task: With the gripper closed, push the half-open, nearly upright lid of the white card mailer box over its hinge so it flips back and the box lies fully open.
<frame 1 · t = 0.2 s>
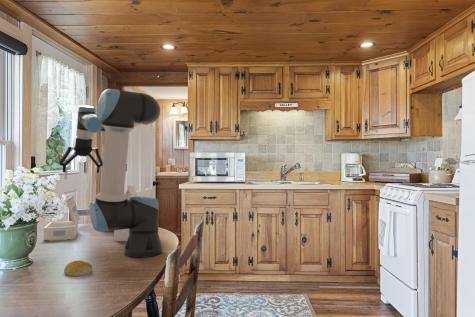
hand: (80, 178, 179), 28 cm above the table, tool tilted 15°, fingers open, 13 cm apart
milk: (130, 238, 174), on the table
lid: (73, 210, 177), point 13 cm above the table, hinge at 75.0°
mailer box: (61, 236, 176), on the table
decorative box: (110, 228, 198), on the table
bread roll: (78, 273, 120), on the table
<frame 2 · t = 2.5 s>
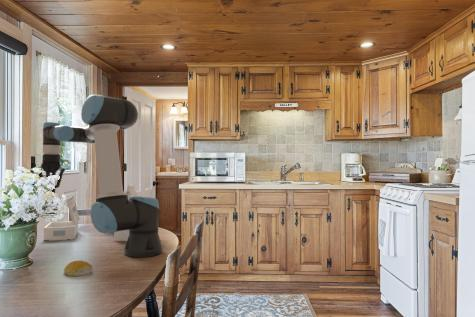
hand: (50, 202, 174), 17 cm above the table, tool pointing down, fingers closed
nothing on the table moved.
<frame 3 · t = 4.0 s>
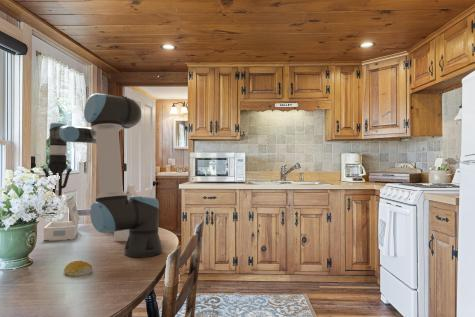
hand: (57, 202, 175), 17 cm above the table, tool pointing down, fingers closed
nothing on the table moved.
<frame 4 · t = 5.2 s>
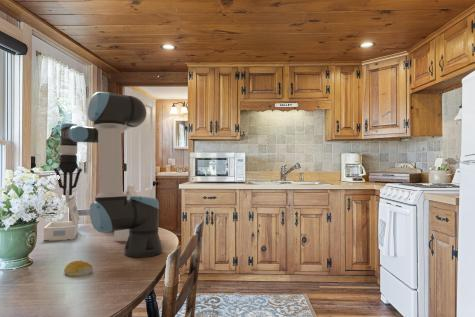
hand: (67, 202, 176), 17 cm above the table, tool pointing down, fingers closed
lid: (73, 209, 177), point 13 cm above the table, hinge at 76.2°, touching gripper
everything else where it was.
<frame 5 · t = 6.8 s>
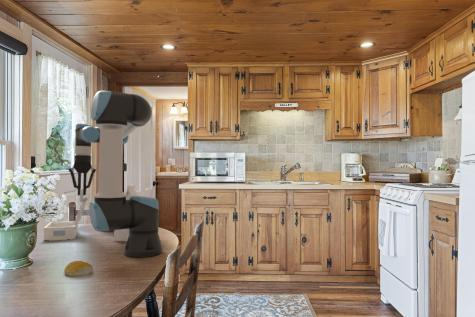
hand: (81, 201, 179), 17 cm above the table, tool pointing down, fingers closed
lid: (81, 210, 179), point 13 cm above the table, hinge at 108.4°, touching gripper
everything else where it was.
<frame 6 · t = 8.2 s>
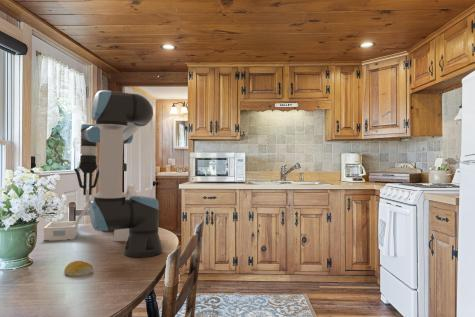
hand: (87, 201, 179), 17 cm above the table, tool pointing down, fingers closed
lid: (84, 211, 179), point 12 cm above the table, hinge at 121.0°, touching gripper
everything else where it was.
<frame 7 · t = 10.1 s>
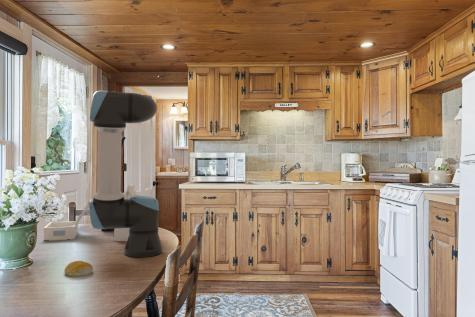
hand: (111, 169, 181), 33 cm above the table, tool pointing down, fingers closed
lid: (84, 211, 179), point 12 cm above the table, hinge at 121.1°
everything else where it was.
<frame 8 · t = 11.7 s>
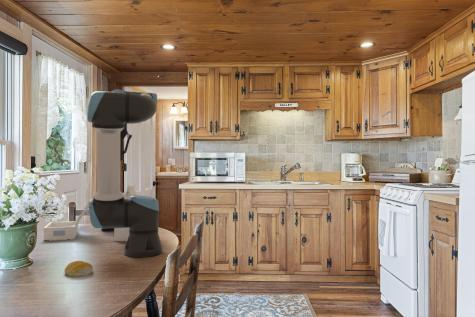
hand: (118, 167, 182), 34 cm above the table, tool pointing down, fingers closed
nothing on the table moved.
at the end: lid at +121° (first picture: +75°) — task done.
